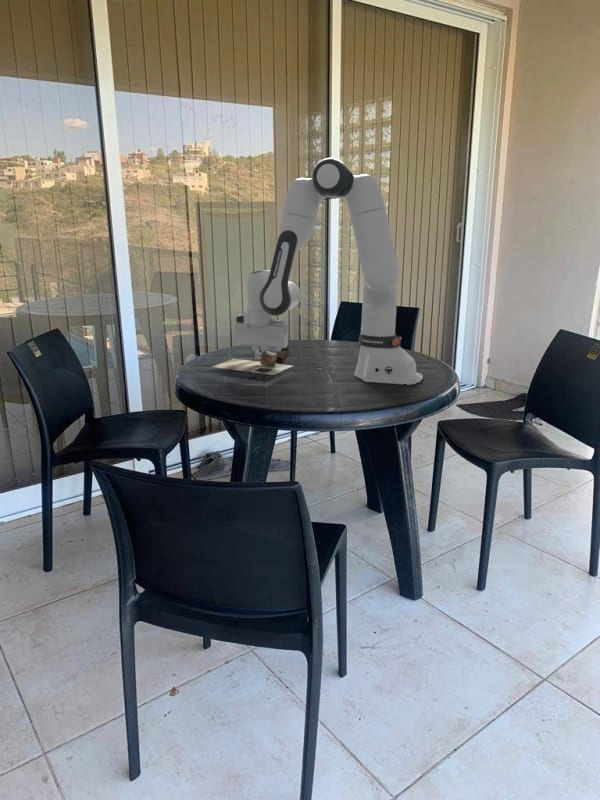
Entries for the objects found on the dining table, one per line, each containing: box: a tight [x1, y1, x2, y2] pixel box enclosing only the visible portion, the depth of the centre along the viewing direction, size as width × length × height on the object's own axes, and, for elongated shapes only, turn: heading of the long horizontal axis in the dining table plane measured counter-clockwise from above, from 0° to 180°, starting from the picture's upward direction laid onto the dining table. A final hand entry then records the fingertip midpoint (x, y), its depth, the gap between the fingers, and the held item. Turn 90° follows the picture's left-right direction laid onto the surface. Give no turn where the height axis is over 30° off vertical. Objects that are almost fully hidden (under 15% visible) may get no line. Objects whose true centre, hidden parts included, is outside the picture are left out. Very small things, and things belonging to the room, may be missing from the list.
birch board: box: [211, 358, 294, 380], centre depth 198 cm, size 24×15×2 cm, turn 65°
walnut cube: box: [259, 351, 278, 367], centre depth 199 cm, size 4×4×4 cm
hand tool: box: [276, 345, 290, 364], centre depth 213 cm, size 19×4×5 cm, turn 167°
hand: (259, 358), depth 200 cm, fingers closed
